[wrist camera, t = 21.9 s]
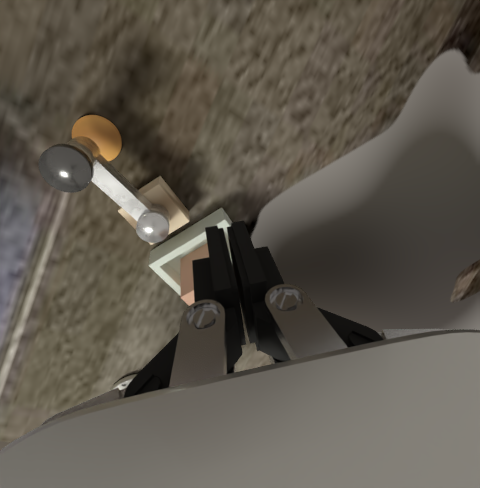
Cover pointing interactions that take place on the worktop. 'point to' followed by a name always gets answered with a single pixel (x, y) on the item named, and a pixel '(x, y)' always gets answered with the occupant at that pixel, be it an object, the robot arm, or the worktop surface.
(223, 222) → the tray
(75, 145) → the crank
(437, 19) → the worktop surface
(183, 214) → the crank base
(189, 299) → the block
